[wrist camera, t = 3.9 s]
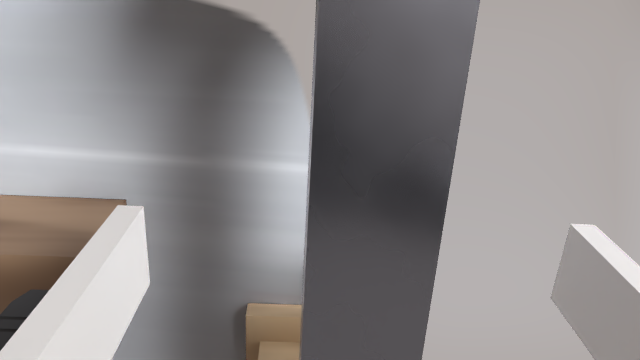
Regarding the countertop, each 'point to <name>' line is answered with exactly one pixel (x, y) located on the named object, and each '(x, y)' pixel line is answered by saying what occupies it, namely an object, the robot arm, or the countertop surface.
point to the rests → (44, 239)
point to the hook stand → (273, 331)
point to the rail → (380, 171)
